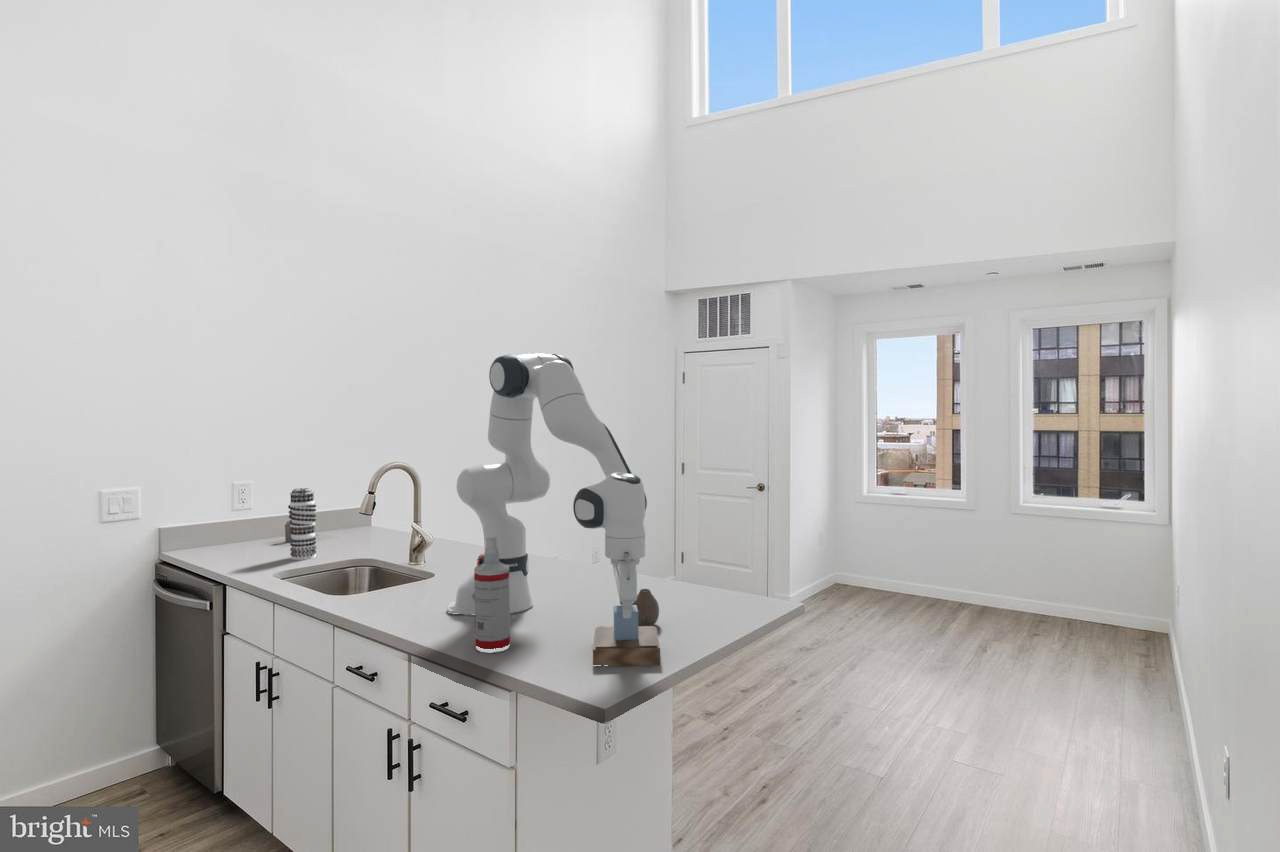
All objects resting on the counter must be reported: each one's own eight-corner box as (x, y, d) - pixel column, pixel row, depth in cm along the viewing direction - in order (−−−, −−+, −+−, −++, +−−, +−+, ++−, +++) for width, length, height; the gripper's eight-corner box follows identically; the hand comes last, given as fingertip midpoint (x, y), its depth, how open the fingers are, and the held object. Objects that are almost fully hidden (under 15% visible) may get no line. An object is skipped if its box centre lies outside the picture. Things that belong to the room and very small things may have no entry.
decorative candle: (303, 560, 250) (301, 490, 249) (283, 559, 253) (281, 489, 252) (323, 555, 258) (321, 487, 257) (303, 553, 261) (302, 487, 261)
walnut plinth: (593, 666, 146) (592, 647, 146) (595, 643, 160) (595, 626, 160) (660, 665, 147) (660, 646, 147) (656, 642, 161) (656, 625, 161)
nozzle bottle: (478, 655, 154) (476, 541, 153) (472, 644, 160) (470, 536, 160) (514, 650, 157) (512, 538, 156) (506, 639, 163) (505, 533, 163)
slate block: (615, 640, 151) (615, 612, 151) (613, 632, 156) (613, 605, 156) (638, 639, 151) (638, 611, 151) (636, 631, 156) (636, 605, 156)
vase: (639, 631, 169) (638, 594, 169) (626, 623, 175) (626, 588, 175) (664, 626, 172) (664, 591, 172) (651, 619, 178) (650, 585, 178)
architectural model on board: (290, 544, 283) (289, 520, 282) (285, 543, 284) (284, 519, 284) (315, 539, 293) (315, 516, 292) (311, 538, 294) (310, 515, 294)
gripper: (644, 558, 143) (644, 625, 143) (635, 538, 163) (635, 597, 164) (613, 559, 142) (613, 626, 143) (608, 538, 163) (608, 598, 163)
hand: (625, 610), depth 153 cm, fingers open, 8 cm apart
